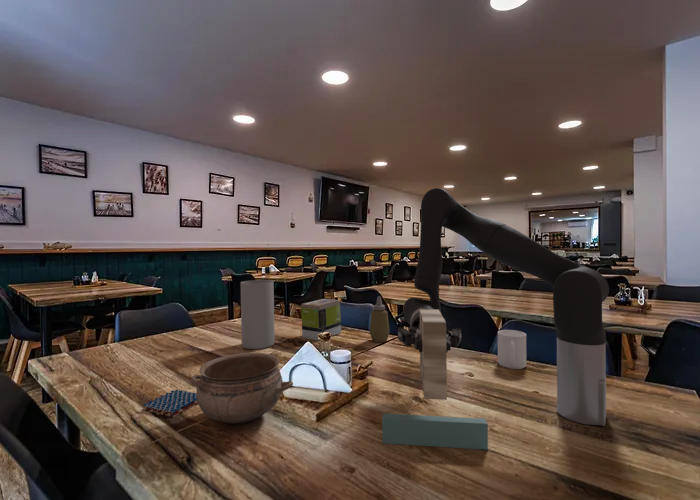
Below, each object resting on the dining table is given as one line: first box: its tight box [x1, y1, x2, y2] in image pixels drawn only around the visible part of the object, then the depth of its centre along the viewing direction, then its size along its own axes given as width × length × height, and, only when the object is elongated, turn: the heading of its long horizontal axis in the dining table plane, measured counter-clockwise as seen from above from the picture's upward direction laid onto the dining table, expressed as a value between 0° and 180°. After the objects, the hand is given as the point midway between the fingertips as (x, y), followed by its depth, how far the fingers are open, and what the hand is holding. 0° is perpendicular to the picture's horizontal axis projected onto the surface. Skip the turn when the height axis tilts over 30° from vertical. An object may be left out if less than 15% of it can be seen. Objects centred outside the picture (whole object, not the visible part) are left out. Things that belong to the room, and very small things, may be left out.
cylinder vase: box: [240, 279, 276, 350], centre depth 139 cm, size 12×12×25 cm
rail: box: [381, 413, 489, 451], centre depth 70 cm, size 20×2×5 cm, turn 82°
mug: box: [497, 329, 527, 370], centre depth 111 cm, size 12×8×10 cm
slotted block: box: [419, 309, 448, 401], centre depth 70 cm, size 12×4×14 cm, turn 172°
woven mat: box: [142, 389, 198, 418], centre depth 88 cm, size 10×11×2 cm
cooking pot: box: [190, 352, 294, 426], centre depth 81 cm, size 25×19×12 cm
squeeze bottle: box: [369, 295, 390, 343], centre depth 142 cm, size 8×8×18 cm
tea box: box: [300, 298, 342, 341], centre depth 152 cm, size 15×10×15 cm, turn 144°
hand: (433, 347), depth 67 cm, fingers closed on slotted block, 4 cm apart
